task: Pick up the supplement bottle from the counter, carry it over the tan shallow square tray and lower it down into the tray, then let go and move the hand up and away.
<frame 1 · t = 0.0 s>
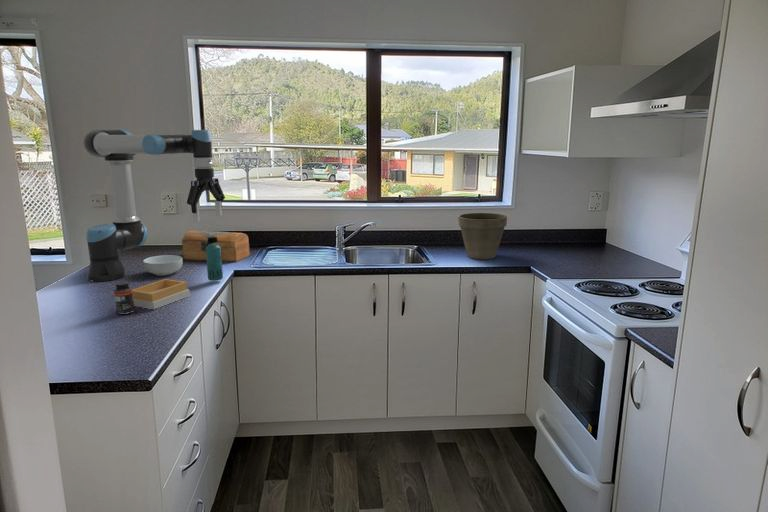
hand: (208, 218, 220), 28 cm above the worktop, tool pointing down, fingers open, 13 cm apart
beverage bottle: (215, 282, 226), on the worktop
plant pot: (480, 256, 272), on the worktop
cereal bowl: (164, 274, 240), on the worktop
supplement bottle: (126, 313, 188), on the worktop
wooden box: (216, 258, 270), on the worktop
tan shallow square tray: (160, 301, 201), on the worktop
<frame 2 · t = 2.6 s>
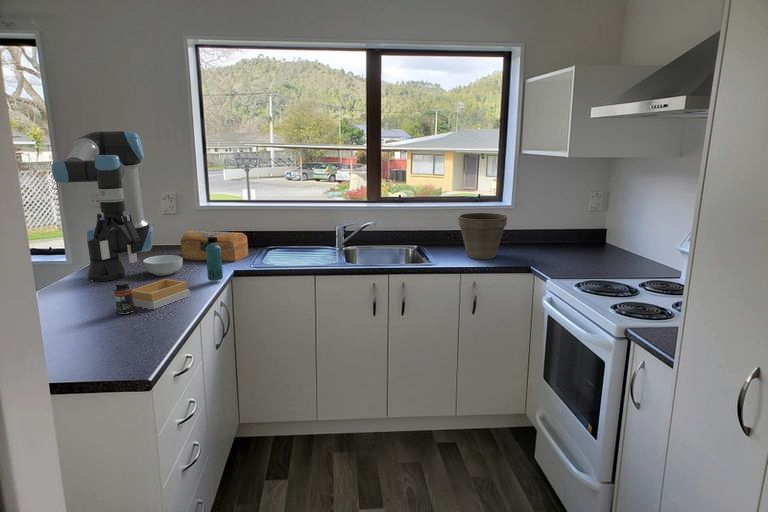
hand: (119, 260, 183), 20 cm above the worktop, tool pointing down, fingers open, 13 cm apart
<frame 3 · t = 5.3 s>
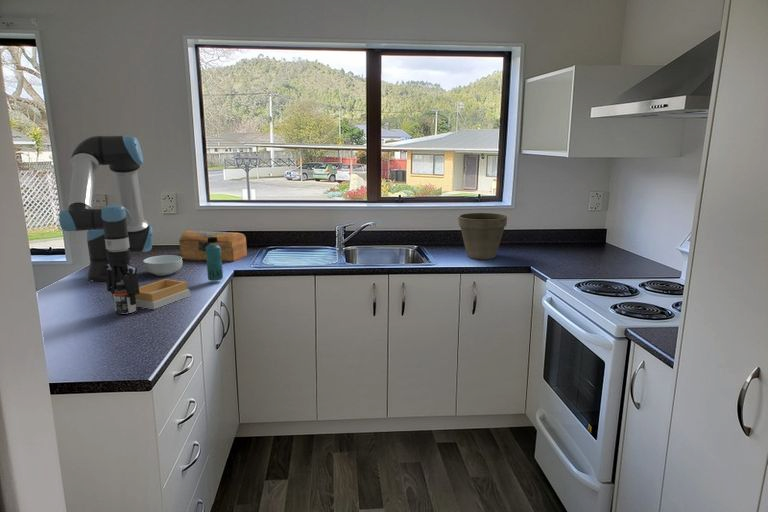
hand: (125, 311, 188), 0 cm above the worktop, tool pointing down, fingers closed on supplement bottle, 6 cm apart
supplement bottle: (126, 313, 188), on the worktop, touching gripper
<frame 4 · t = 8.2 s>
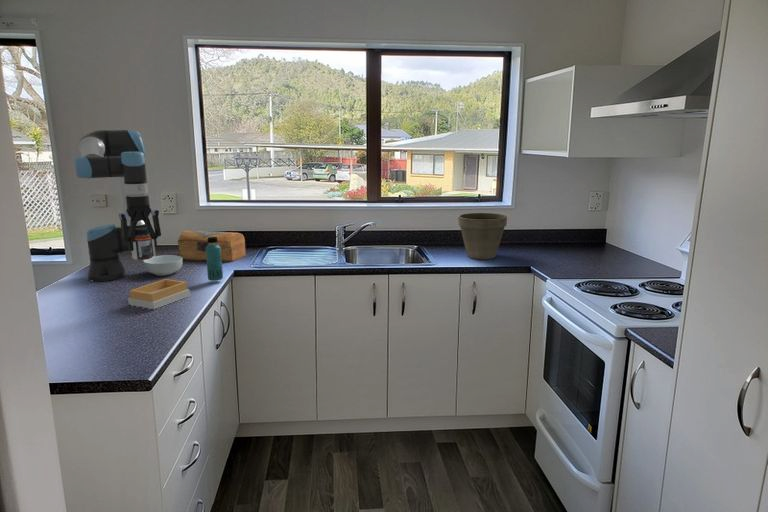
hand: (144, 257, 192), 19 cm above the worktop, tool pointing down, fingers closed on supplement bottle, 6 cm apart
supplement bottle: (144, 258, 193), point 18 cm above the worktop, touching gripper
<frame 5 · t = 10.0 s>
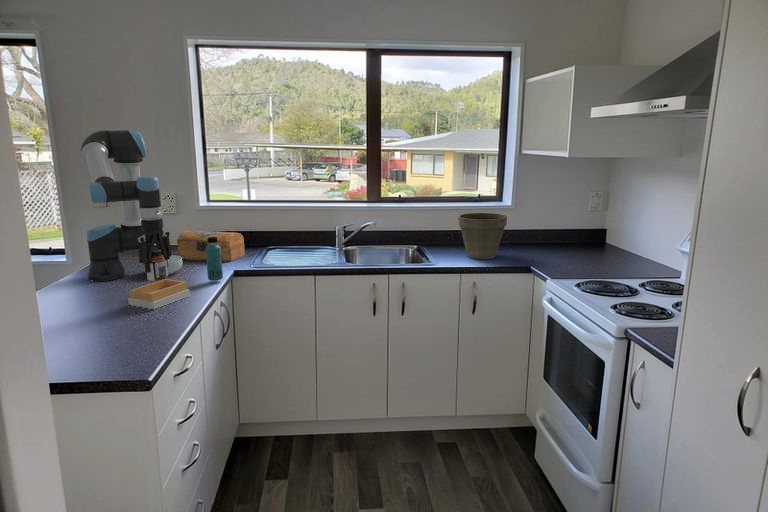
hand: (158, 277, 199), 9 cm above the worktop, tool pointing down, fingers closed on supplement bottle, 6 cm apart
supplement bottle: (158, 279, 199), point 9 cm above the worktop, touching gripper
when the fingers open (6 cm above the worktop, at t = 11.4 s): supplement bottle drops 2 cm, resting on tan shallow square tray.
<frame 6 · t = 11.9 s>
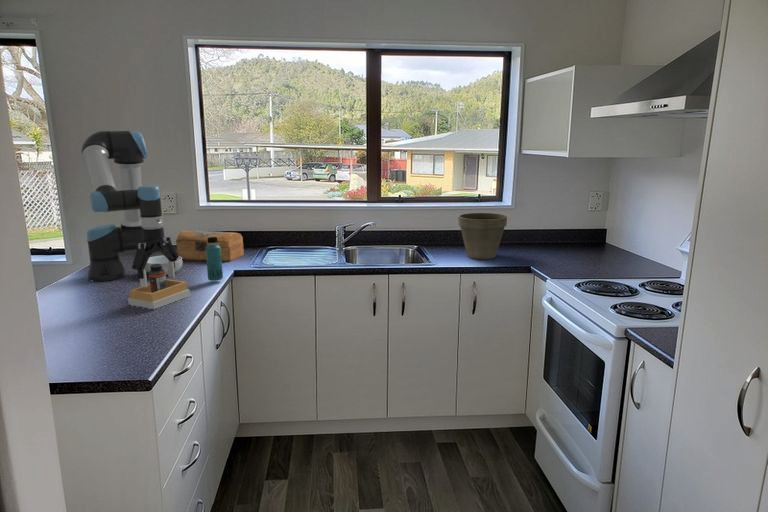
hand: (158, 282, 199), 8 cm above the worktop, tool pointing down, fingers open, 13 cm apart
supplement bottle: (159, 293, 200), point 3 cm above the worktop, touching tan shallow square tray
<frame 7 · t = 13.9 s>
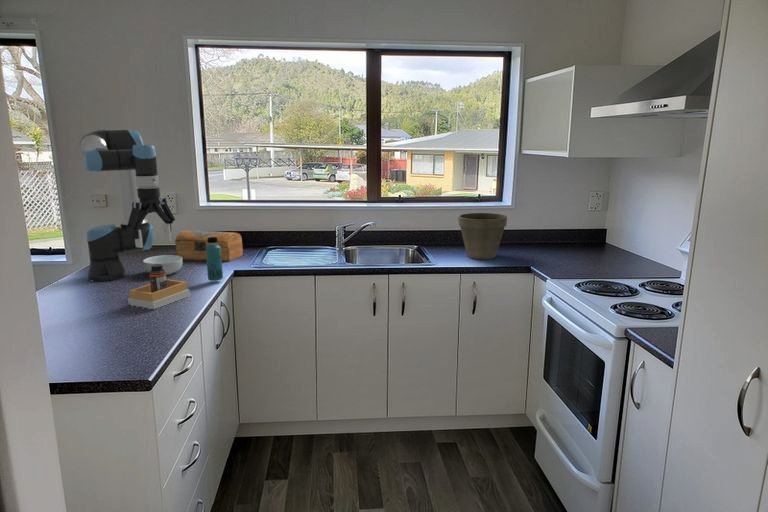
hand: (154, 243, 196), 23 cm above the worktop, tool pointing down, fingers open, 13 cm apart
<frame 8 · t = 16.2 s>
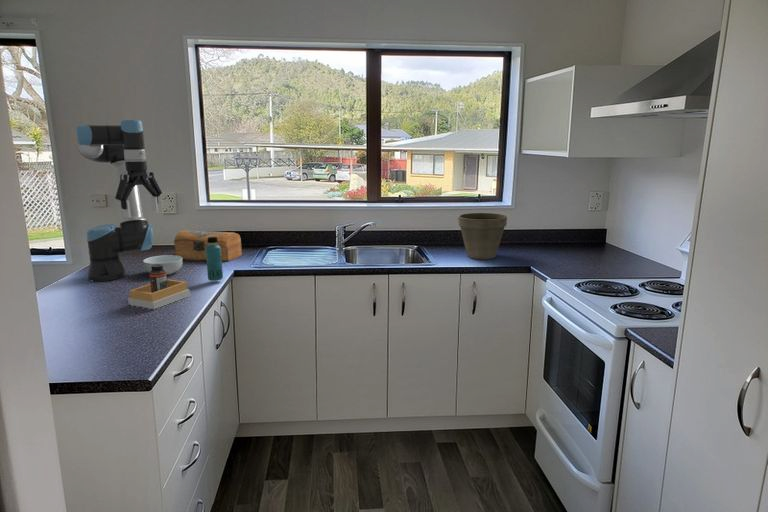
hand: (141, 214, 206), 32 cm above the worktop, tool pointing down, fingers open, 13 cm apart
at the end: supplement bottle inside the target area on the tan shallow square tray (0.2 cm from its centre), point 2.8 cm above the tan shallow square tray's base; supplement bottle tilted 0°; the gripper is holding nothing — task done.
